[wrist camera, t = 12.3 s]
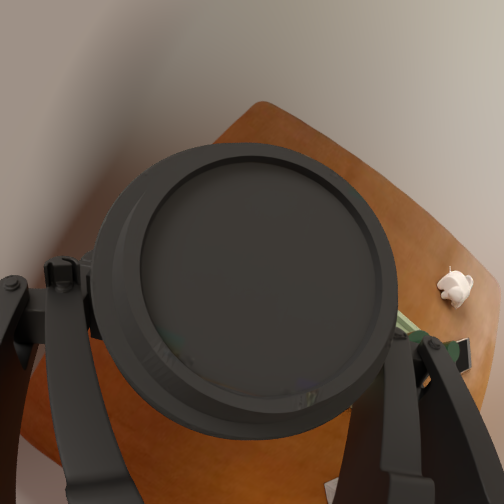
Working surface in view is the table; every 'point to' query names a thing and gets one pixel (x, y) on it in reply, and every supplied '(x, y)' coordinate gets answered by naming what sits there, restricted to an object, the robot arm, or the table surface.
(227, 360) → the coffee cup
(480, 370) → the table surface
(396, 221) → the table surface
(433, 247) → the table surface
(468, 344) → the cell phone
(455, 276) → the elephant figurine
